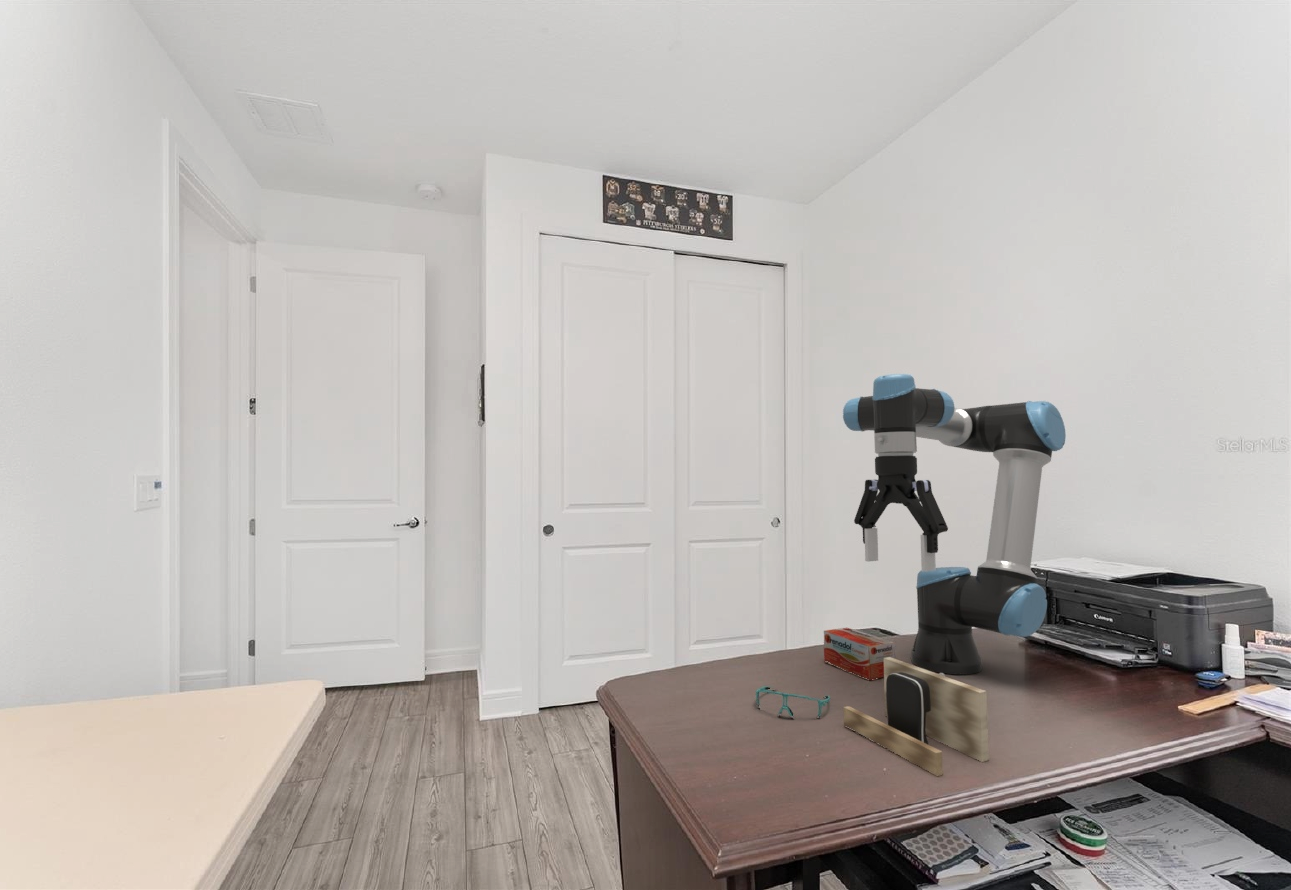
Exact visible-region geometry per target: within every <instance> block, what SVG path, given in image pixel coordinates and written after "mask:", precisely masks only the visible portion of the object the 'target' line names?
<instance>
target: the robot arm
mask: <svg viewBox="0 0 1291 890" xmlns="http://www.w3.org/2000/svg"><path fill="white" fill-rule="evenodd" d="M915 383H916V382H915V379H914V376H912V375H911V374H906V373H895V374H885V375H881V376H877V377H876V378H875V379H874V381H873V387H872V390H873V391H872V395H870V396H859V397H855V398H851V399H849V400H848V401H847V402H846V403H845V404H844V407H843V410H842V414H843V415H842V419H843V422H844V424H845V426H846V427H847V428H848V429H849V430H851V431H852V432H853V431H854V432H866V431H873V432H874V434H873V435H874V453H875V454H877V456H875V458H874V473H875V475H876V476H878V477H877V479H865V481H864V491H863V493H862V494H863V495H862V497H861V500H860V503H859V505H858V508H857V510H856V515H855V517H854V520H853V522H854V524H855V525H859V526H860V527H861V529H862V542H863V544H864V561H865V562H877V561H879V543H878V539H879V537H878V527H877V526H876V523H877V522H878V521H879V519H880V518H881V516H882V514H883V513H884V511H885V510H886V508H887V507H888V505H890V504H898V505H900V504H902V505H903V506H904V507H906V508H907V509H908V511H909V512H910V514H911V515H912V517H913V518H914V520H915V521H916V523H917V524H918V526H919V527H920V529H921V530H922V531H923V532H922V534H920V556H921V557H920V558H921V559H920V561H921V562H920V563H921V570H919V572H918V573H917V575H916V576H917V577H916V586H915V588H916V596H917V597H916V599H917V623H918V624H917V625H918V626H917V628H918V629H917V633H916V636H915V639H914V642H913V646H912V649H911V654H910V656H911V662H912V664H913V665H914V666H917V667H919V668H922V669H925V670H928V671H931V672H934V673H943V674H946V675H947V674H948V675H971V674H977V673H979V672H981V671H982V669H983V668H982V667H983V666H982V657H981V655H980V653H979V650H978V647H977V644H976V641H975V639H974V636H973V628H975V629H980V630H985V631H989V632H994V633H999V634H1002V635H1005V636H1012V637H1013V636H1014V637H1021V638H1026V637H1030V636H1032V635H1033V634H1035V633H1037V631H1038V630H1039V629H1040V627H1041V626H1042V624H1043V622H1044V619H1045V618H1046V613H1047V609H1048V599H1046V598H1047V594H1046V591H1045V589H1044V588H1043V586H1041V585H1039V584H1038V576H1037V575H1035V573H1034V572H1033V571H1032V569H1031V566H1032V557H1033V551H1034V550H1033V547H1034V540H1035V531H1036V522H1037V516H1038V515H1037V514H1038V508H1039V507H1038V504H1039V497H1040V490H1041V481H1042V473H1043V472H1042V471H1043V468H1044V466H1046V465H1047V464H1049V463H1050V462H1052V456H1053V455H1052V454H1053V452H1057V451H1060V450H1062V449H1063V448H1064V446H1065V444H1066V428H1065V423H1064V420H1063V419H1064V418H1062V415H1061V412H1060V411H1059V408H1057V407H1056V406H1055V405H1054V404H1053V403H1052V402H1049V401H1046V400H1043V401H1042V400H1041V401H1040V400H1039V401H1031V400H1028V401H1025V402H1016V403H1015V402H1014V403H1006V404H1005V403H1004V404H994V405H983V406H977V407H969V408H957V407H955V404H954V403H955V402H954V399H953V397H951V395H949V394H948V393H947V392H944V391H942V390H938V389H935V388H932V389H931V388H930V389H929V388H920V387H919V388H917V387H916V384H915ZM917 438H921V439H922V438H923V439H927V440H934V441H939V442H940V443H941V444H942V445H945V446H947V447H954V448H958V449H963V450H968V451H973V452H980V453H981V452H982V453H992V456H993V457H994V458H995V460H997V461H998V470H997V478H996V479H997V480H996V484H995V492H994V499H993V500H994V501H993V506H992V507H993V508H992V515H991V523H990V531H989V535H988V536H989V538H988V545H987V552H986V553H987V554H986V560H985V562H983V563H981V564H980V565H978V566H977V569H976V571H977V572H976V575H972V572H971V569H970V568H969V567H963V566H944V567H943V566H942V567H936V553H938V552H939V539H938V537H939V535H940V534H941V533H946V532H948V531H949V530H948V529H949V527H948V525H947V523H946V520H945V518H944V516H943V514H942V511H941V510H940V506H939V505H938V502H937V500H936V498H935V495H934V494H933V491H932V482H931V480H929V479H921V480H920V479H919V480H918V479H917V480H916V477H915V476H916V475H917V473H918V458H917V457H916V456H915V455H914V454H916V453H917V452H918V450H917V449H918V447H917ZM876 527H877V528H876Z"/></svg>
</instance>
